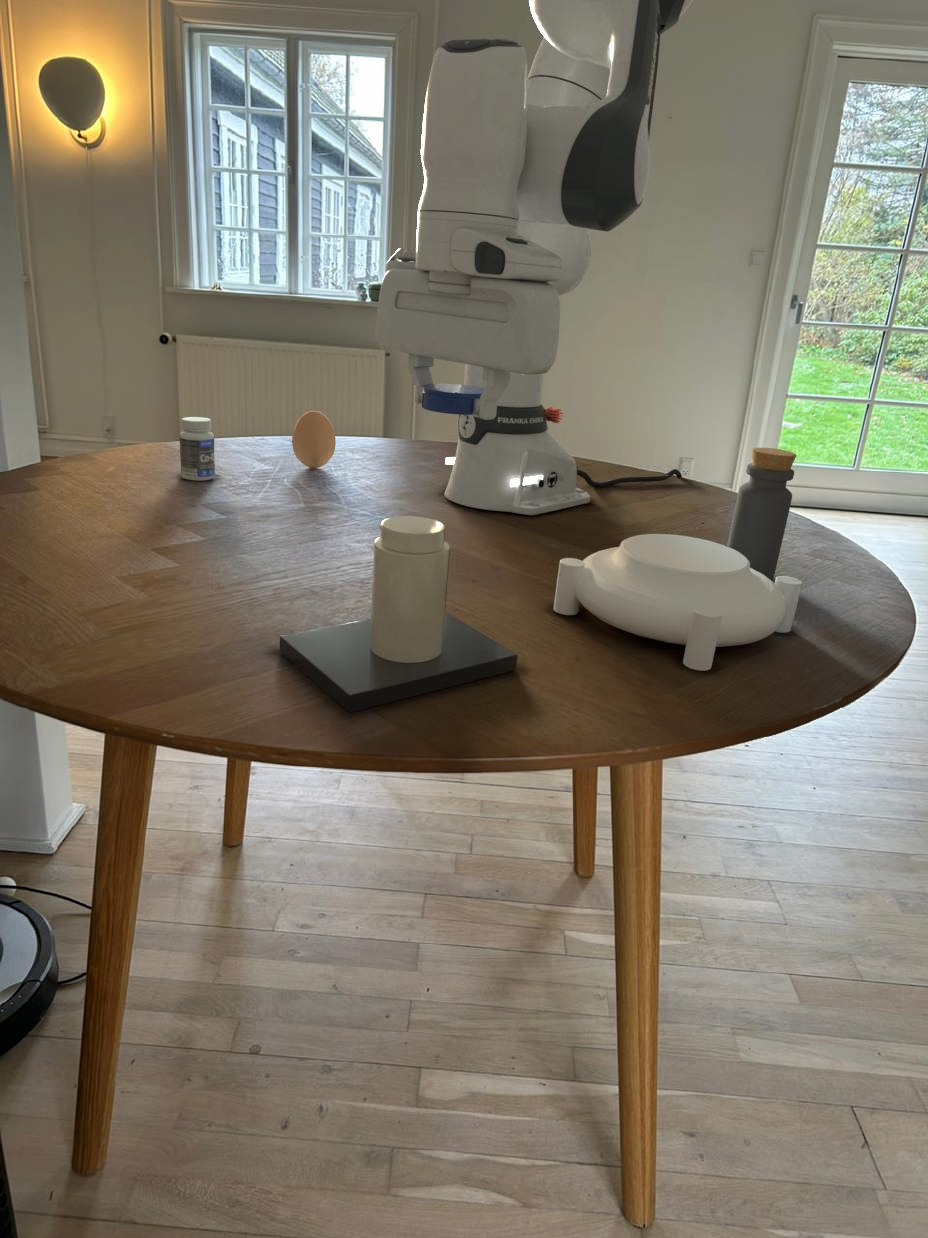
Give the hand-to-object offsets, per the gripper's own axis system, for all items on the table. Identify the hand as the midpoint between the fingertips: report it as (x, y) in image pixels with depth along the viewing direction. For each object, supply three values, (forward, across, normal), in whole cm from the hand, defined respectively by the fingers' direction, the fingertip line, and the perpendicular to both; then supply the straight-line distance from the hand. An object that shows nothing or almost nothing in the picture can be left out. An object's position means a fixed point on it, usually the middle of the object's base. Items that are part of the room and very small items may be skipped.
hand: (454, 411), depth 80 cm
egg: (+19, -52, +23) cm, 60 cm away
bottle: (+19, +17, +34) cm, 42 cm away
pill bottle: (+19, -54, +4) cm, 58 cm away
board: (+18, +10, -14) cm, 25 cm away
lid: (-2, 0, 0) cm, 2 cm away
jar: (+17, +10, -14) cm, 24 cm away
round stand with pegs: (+19, +18, +14) cm, 30 cm away
